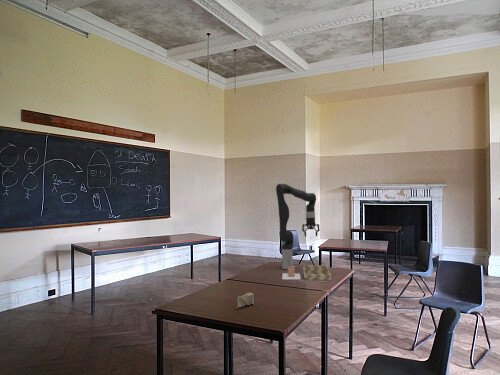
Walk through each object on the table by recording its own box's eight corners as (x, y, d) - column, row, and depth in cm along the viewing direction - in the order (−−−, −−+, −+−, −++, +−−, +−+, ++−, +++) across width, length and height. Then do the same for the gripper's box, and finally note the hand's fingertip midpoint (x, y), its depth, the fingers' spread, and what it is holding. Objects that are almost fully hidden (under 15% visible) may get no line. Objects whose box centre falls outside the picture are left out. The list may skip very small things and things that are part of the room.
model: (253, 305, 217) (253, 292, 217) (242, 310, 209) (241, 296, 209) (249, 304, 219) (249, 291, 219) (237, 309, 211) (237, 295, 211)
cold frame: (304, 279, 279) (304, 270, 279) (303, 274, 299) (303, 265, 299) (331, 279, 277) (331, 270, 277) (328, 274, 297) (328, 265, 297)
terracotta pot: (287, 276, 287) (287, 266, 287) (287, 275, 293) (287, 265, 293) (295, 276, 287) (295, 266, 287) (294, 275, 293) (294, 265, 293)
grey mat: (282, 279, 281) (282, 278, 281) (282, 274, 301) (282, 273, 301) (300, 279, 279) (300, 278, 279) (299, 274, 299) (299, 273, 299)
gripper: (318, 216, 307) (319, 236, 307) (301, 216, 309) (302, 236, 308) (319, 217, 300) (320, 237, 299) (302, 217, 301) (302, 237, 301)
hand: (310, 236), depth 304 cm, fingers open, 8 cm apart
